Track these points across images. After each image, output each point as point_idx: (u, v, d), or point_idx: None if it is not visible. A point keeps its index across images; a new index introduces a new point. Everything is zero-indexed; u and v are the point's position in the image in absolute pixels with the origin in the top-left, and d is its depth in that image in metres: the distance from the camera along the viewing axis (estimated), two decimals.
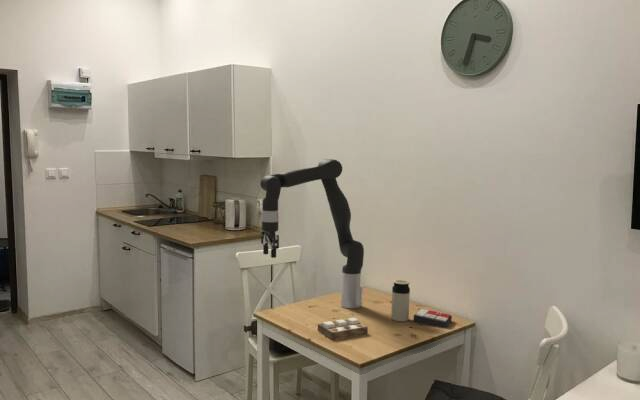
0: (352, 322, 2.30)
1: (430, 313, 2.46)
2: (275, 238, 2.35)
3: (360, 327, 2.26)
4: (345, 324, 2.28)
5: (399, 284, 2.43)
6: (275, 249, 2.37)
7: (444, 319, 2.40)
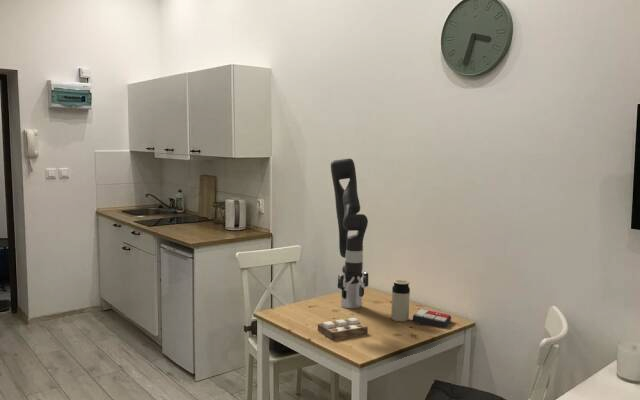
0: (352, 322, 2.30)
1: (429, 313, 2.46)
2: None
3: (360, 327, 2.26)
4: (345, 324, 2.28)
5: (399, 284, 2.43)
6: None
7: (443, 319, 2.39)
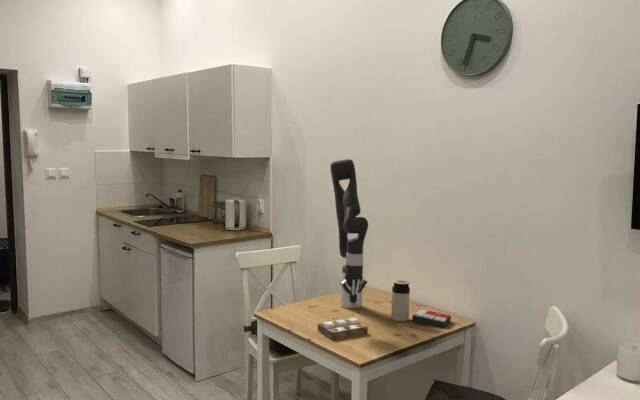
0: (352, 322, 2.30)
1: (429, 313, 2.46)
2: None
3: (360, 327, 2.26)
4: (345, 324, 2.28)
5: (399, 284, 2.43)
6: None
7: (443, 319, 2.39)
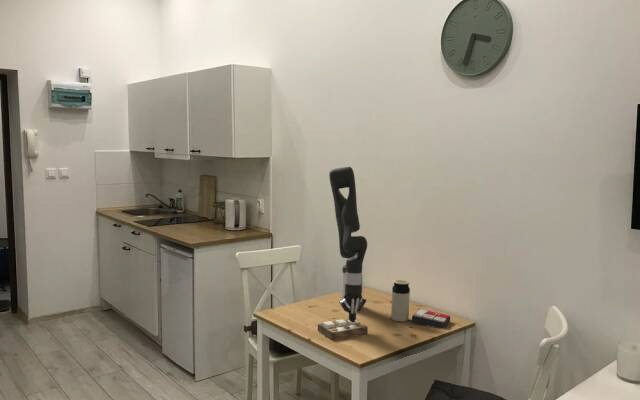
0: (352, 324, 2.30)
1: (428, 314, 2.46)
2: None
3: (360, 327, 2.26)
4: (345, 324, 2.28)
5: (399, 284, 2.43)
6: None
7: (442, 320, 2.39)
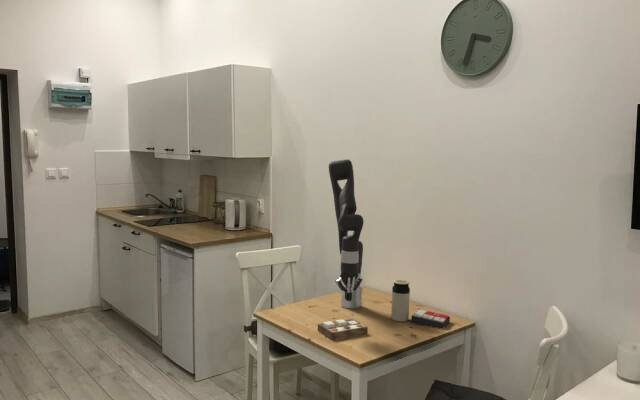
0: None
1: (428, 314, 2.45)
2: None
3: (360, 327, 2.26)
4: (345, 324, 2.28)
5: (399, 284, 2.43)
6: None
7: (442, 320, 2.38)
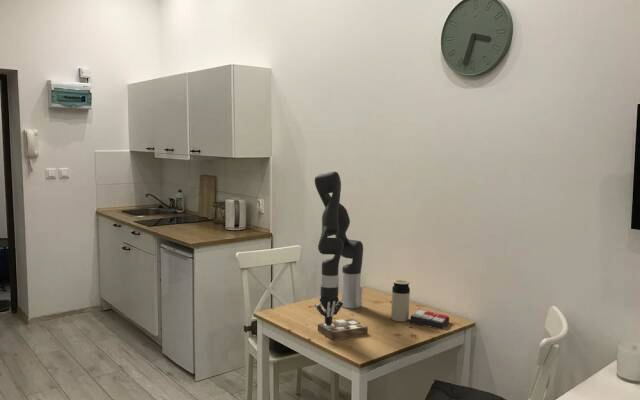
0: None
1: (427, 314, 2.45)
2: None
3: (360, 327, 2.26)
4: (345, 324, 2.28)
5: (399, 284, 2.43)
6: None
7: (441, 320, 2.38)
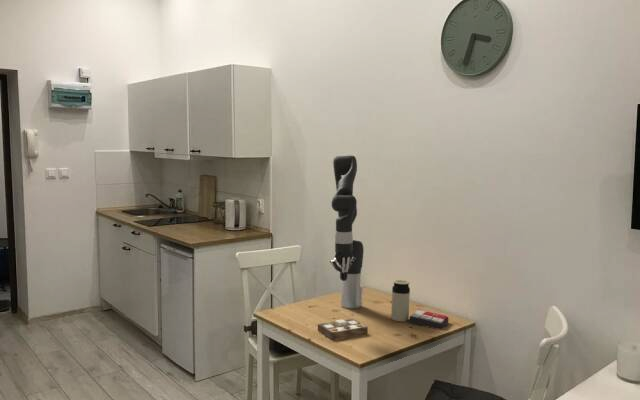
0: None
1: (426, 314, 2.45)
2: None
3: (360, 327, 2.26)
4: (345, 324, 2.28)
5: (399, 284, 2.43)
6: None
7: (440, 320, 2.37)
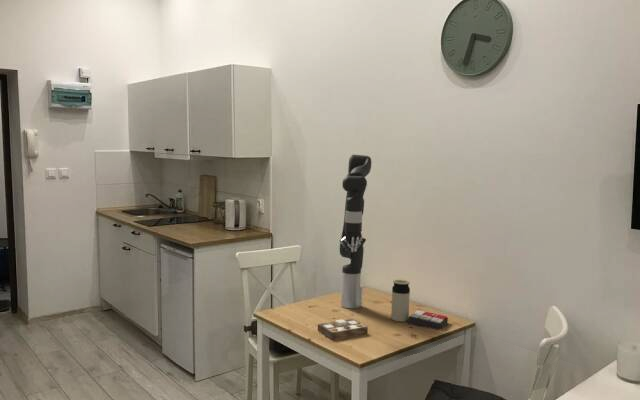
0: None
1: (426, 314, 2.44)
2: None
3: (360, 327, 2.26)
4: (345, 324, 2.28)
5: (399, 284, 2.43)
6: None
7: (439, 321, 2.37)
